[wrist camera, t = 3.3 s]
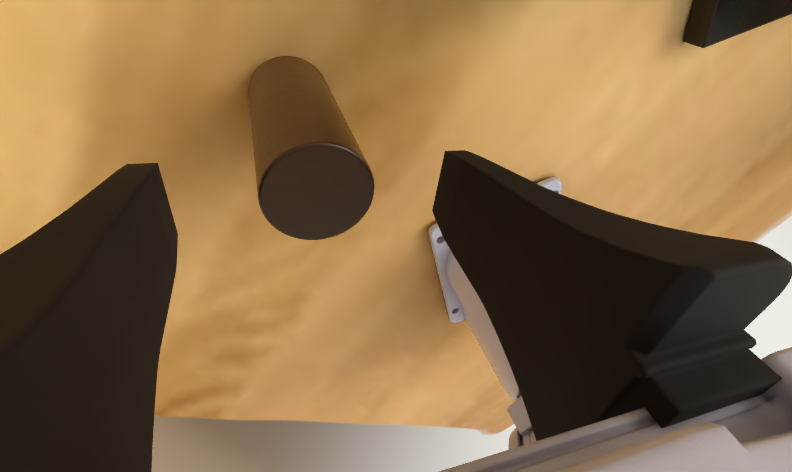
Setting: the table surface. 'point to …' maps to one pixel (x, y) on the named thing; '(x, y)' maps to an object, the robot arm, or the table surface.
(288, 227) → the brown cylinder
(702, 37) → the button box
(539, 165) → the table surface
